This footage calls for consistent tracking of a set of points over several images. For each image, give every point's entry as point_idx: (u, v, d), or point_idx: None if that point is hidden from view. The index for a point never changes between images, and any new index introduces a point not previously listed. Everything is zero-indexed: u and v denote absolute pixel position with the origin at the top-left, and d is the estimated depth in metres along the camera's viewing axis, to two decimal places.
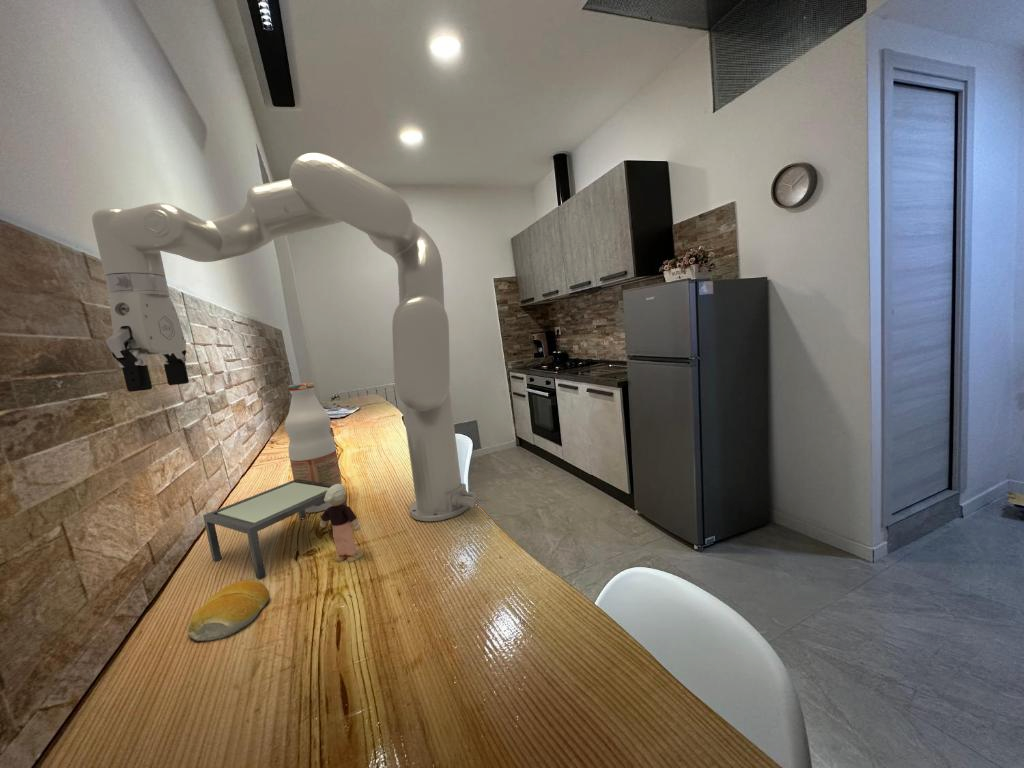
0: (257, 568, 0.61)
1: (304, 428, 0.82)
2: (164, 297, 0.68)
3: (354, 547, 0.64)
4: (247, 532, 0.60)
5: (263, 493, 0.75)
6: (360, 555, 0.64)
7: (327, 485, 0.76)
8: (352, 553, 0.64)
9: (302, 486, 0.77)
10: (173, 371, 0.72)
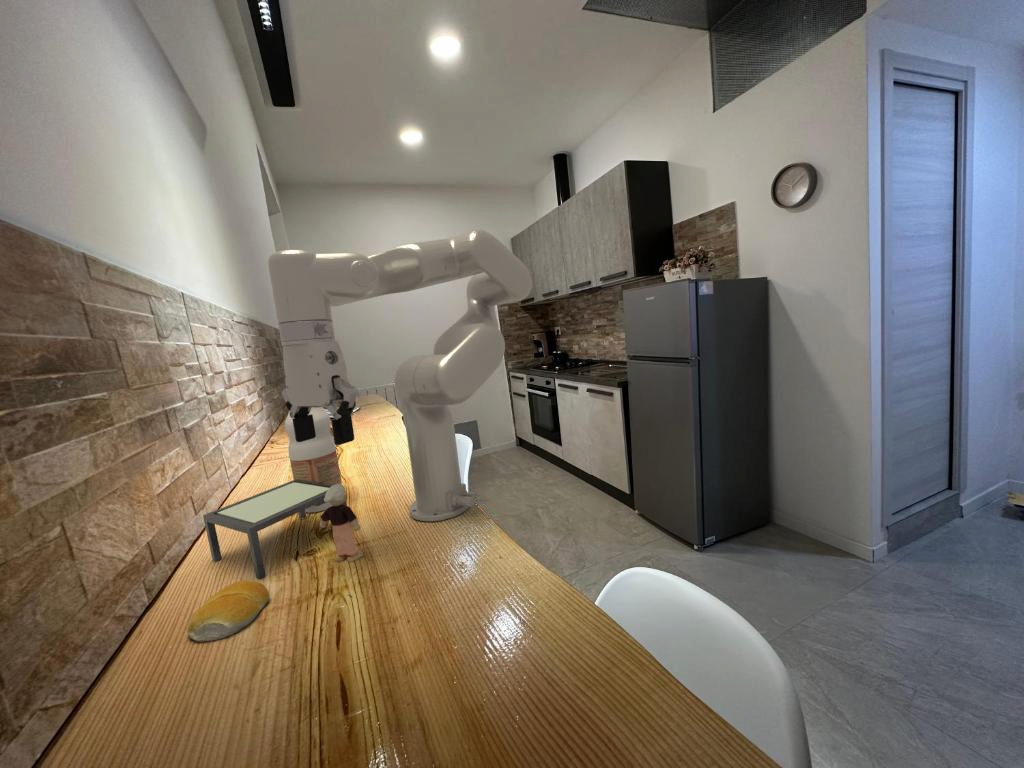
0: (257, 568, 0.61)
1: None
2: None
3: (354, 547, 0.64)
4: (247, 532, 0.60)
5: (263, 493, 0.75)
6: (360, 555, 0.64)
7: (327, 485, 0.76)
8: (352, 553, 0.64)
9: (302, 486, 0.77)
10: (304, 425, 0.64)
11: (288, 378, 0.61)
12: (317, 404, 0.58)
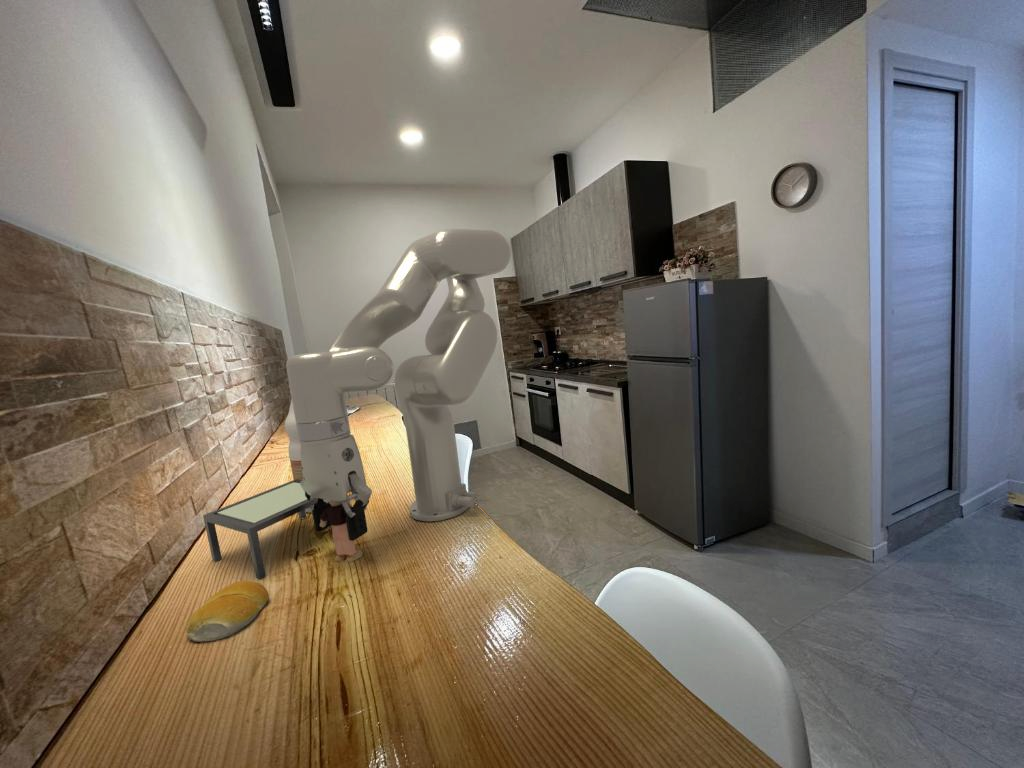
0: (257, 568, 0.61)
1: None
2: None
3: (353, 547, 0.64)
4: (247, 532, 0.60)
5: (263, 493, 0.75)
6: (359, 555, 0.64)
7: None
8: (351, 554, 0.64)
9: None
10: None
11: (305, 471, 0.62)
12: (334, 500, 0.60)
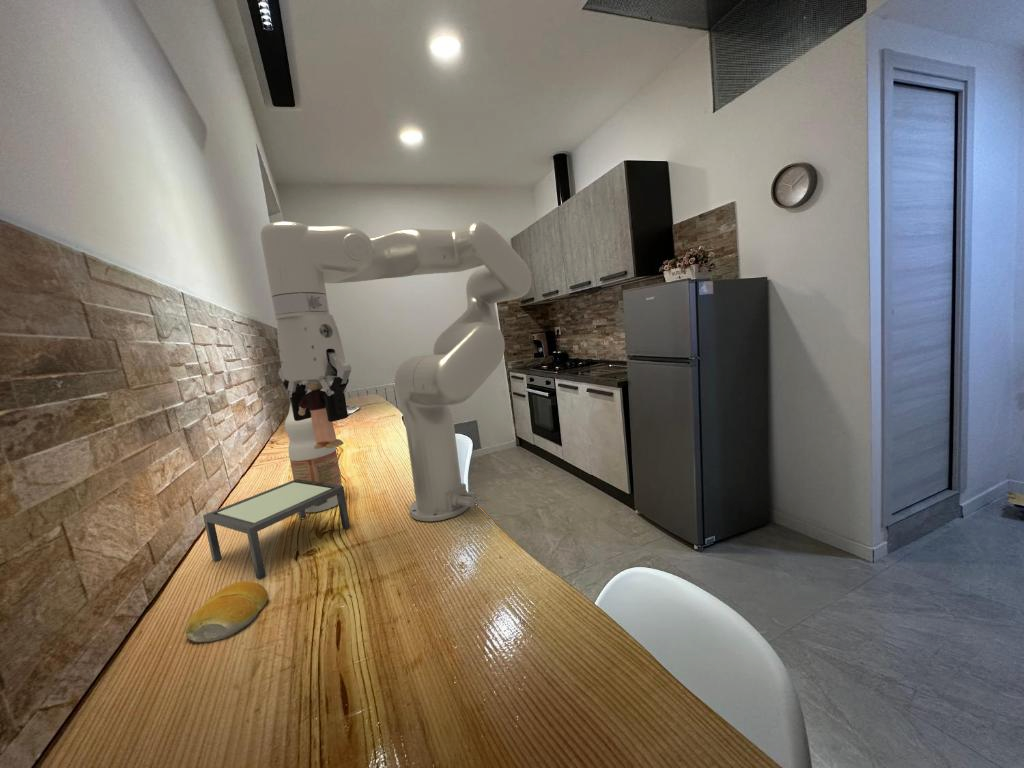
0: (257, 568, 0.61)
1: (304, 428, 0.82)
2: None
3: (333, 434, 0.62)
4: (247, 532, 0.60)
5: (263, 493, 0.75)
6: (340, 443, 0.62)
7: (327, 485, 0.76)
8: (331, 440, 0.61)
9: (302, 486, 0.77)
10: None
11: (282, 353, 0.60)
12: (312, 378, 0.58)
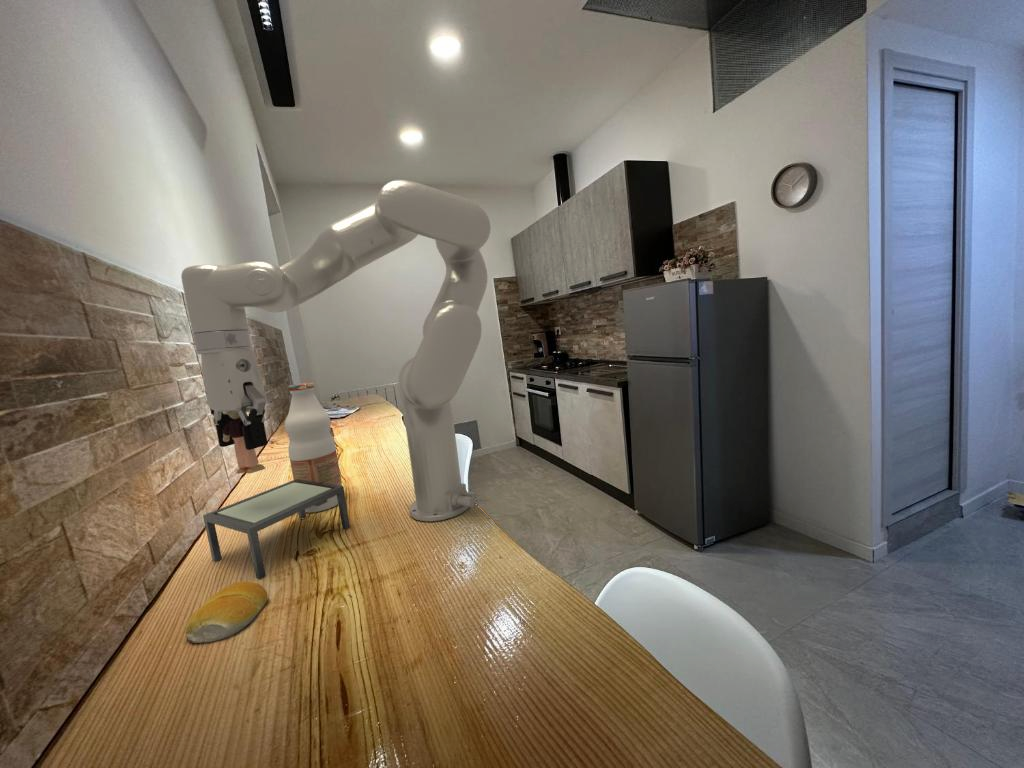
0: (257, 568, 0.61)
1: (304, 428, 0.82)
2: None
3: (254, 460, 0.66)
4: (247, 532, 0.60)
5: (263, 493, 0.75)
6: (260, 468, 0.66)
7: (327, 485, 0.76)
8: (251, 466, 0.66)
9: (302, 486, 0.77)
10: None
11: (206, 384, 0.65)
12: (231, 409, 0.62)
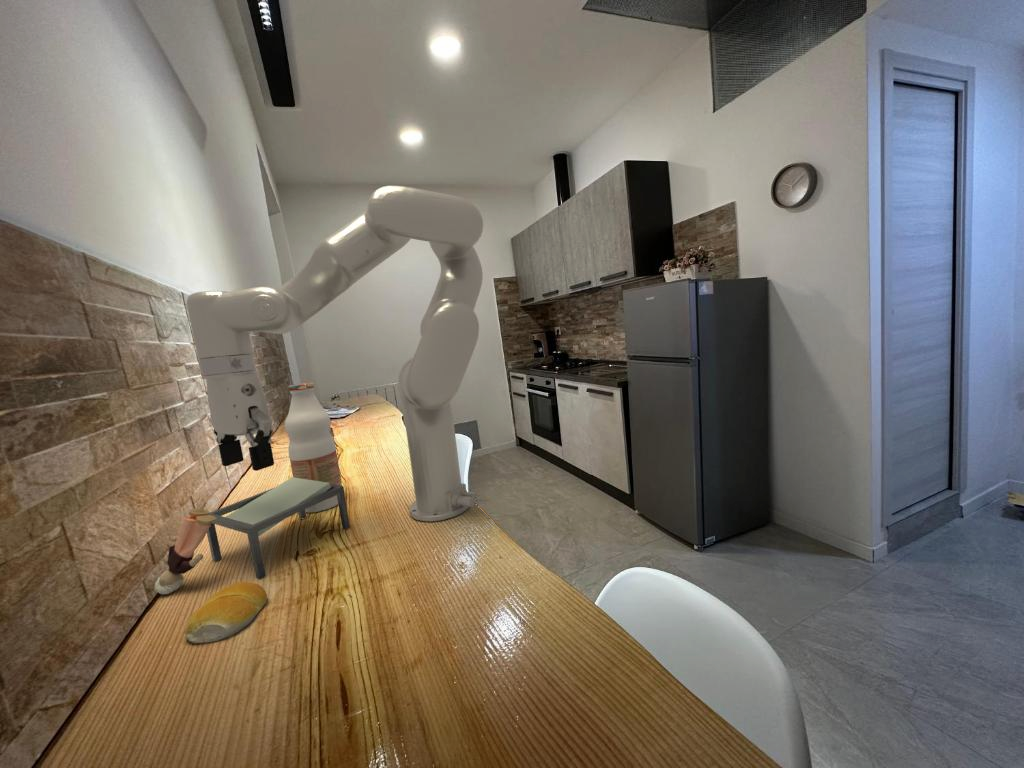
0: (257, 568, 0.61)
1: (304, 428, 0.82)
2: None
3: (205, 531, 0.60)
4: (247, 532, 0.60)
5: (263, 493, 0.75)
6: (208, 522, 0.60)
7: None
8: (209, 524, 0.61)
9: (300, 482, 0.76)
10: (231, 450, 0.69)
11: (211, 408, 0.65)
12: (236, 433, 0.63)
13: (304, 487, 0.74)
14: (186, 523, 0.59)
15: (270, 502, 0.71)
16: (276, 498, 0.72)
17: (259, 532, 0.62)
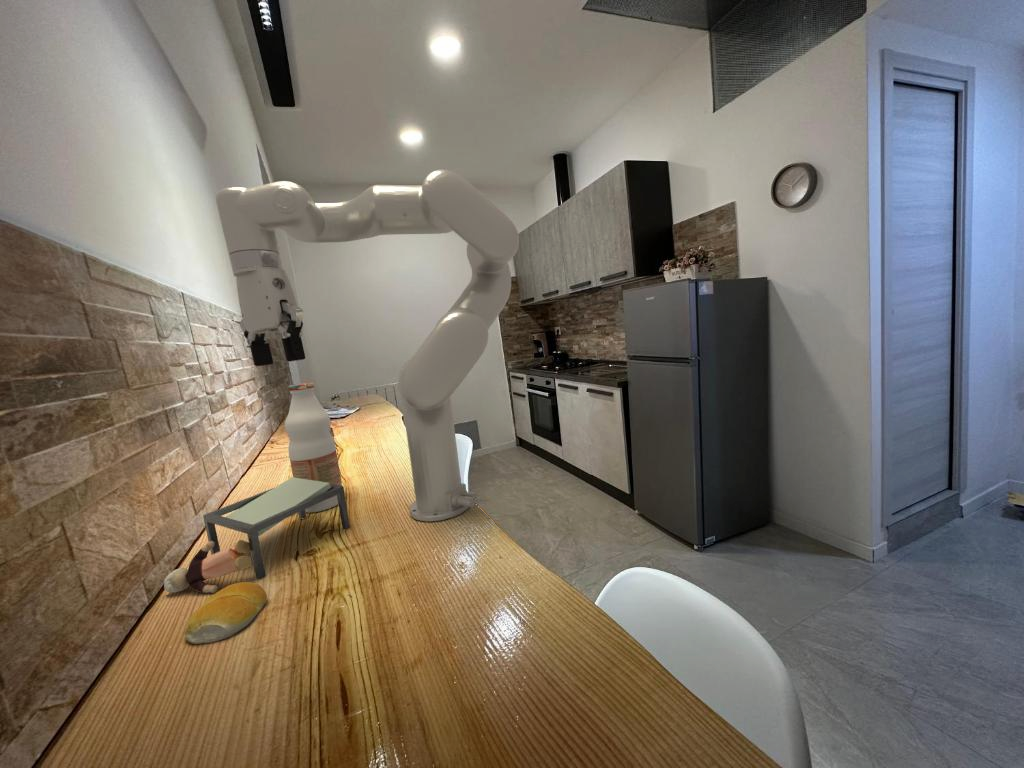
0: (257, 568, 0.61)
1: (304, 428, 0.82)
2: None
3: None
4: (247, 532, 0.60)
5: (263, 493, 0.75)
6: (242, 569, 0.58)
7: None
8: None
9: (300, 482, 0.76)
10: (261, 351, 0.71)
11: (242, 306, 0.68)
12: (269, 326, 0.66)
13: (304, 487, 0.74)
14: (226, 557, 0.58)
15: (270, 502, 0.71)
16: (276, 498, 0.72)
17: (259, 532, 0.62)
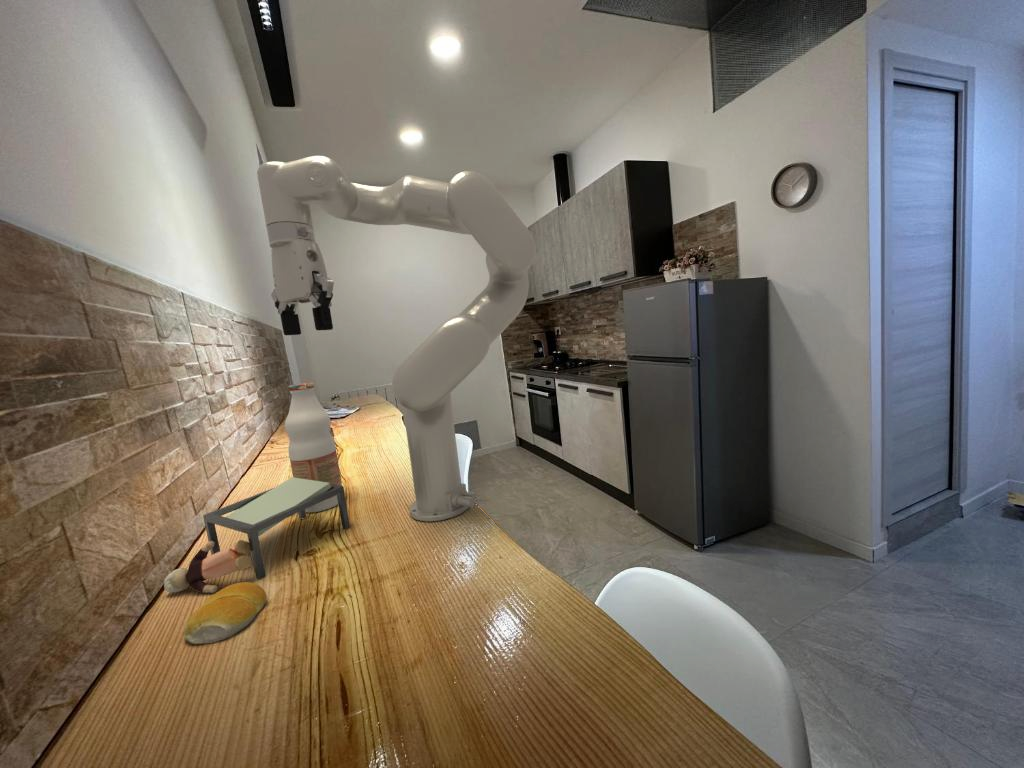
0: (257, 568, 0.61)
1: (304, 428, 0.82)
2: None
3: None
4: (247, 532, 0.60)
5: (263, 493, 0.75)
6: (242, 569, 0.58)
7: None
8: None
9: (300, 482, 0.76)
10: (291, 321, 0.75)
11: (276, 276, 0.71)
12: (300, 295, 0.69)
13: (304, 487, 0.74)
14: (226, 557, 0.58)
15: (270, 502, 0.71)
16: (276, 498, 0.72)
17: (259, 532, 0.62)
